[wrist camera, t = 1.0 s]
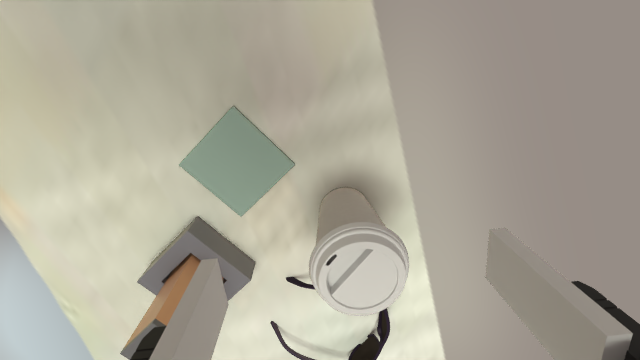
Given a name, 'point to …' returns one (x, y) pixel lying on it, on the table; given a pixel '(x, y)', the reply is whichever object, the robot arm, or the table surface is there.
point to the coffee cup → (356, 256)
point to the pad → (237, 162)
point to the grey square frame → (201, 258)
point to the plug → (164, 303)
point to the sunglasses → (363, 353)
